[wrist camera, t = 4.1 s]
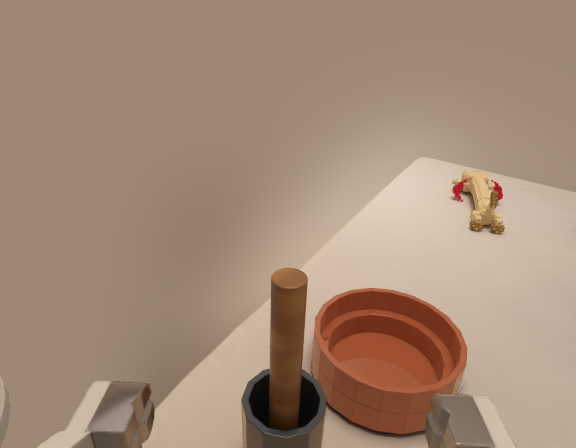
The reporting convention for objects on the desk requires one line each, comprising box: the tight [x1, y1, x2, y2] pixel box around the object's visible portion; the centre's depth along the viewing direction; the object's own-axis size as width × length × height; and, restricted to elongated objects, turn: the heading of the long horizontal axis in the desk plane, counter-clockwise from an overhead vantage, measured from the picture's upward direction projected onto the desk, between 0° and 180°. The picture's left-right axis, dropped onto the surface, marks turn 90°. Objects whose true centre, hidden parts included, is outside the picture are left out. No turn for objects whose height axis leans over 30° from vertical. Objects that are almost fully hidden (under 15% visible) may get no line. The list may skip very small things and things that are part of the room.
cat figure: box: [452, 170, 504, 234], centre depth 84 cm, size 10×9×25 cm
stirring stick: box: [269, 268, 308, 432], centre depth 29 cm, size 2×2×20 cm
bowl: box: [311, 288, 467, 434], centre depth 43 cm, size 15×15×6 cm
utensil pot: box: [241, 369, 327, 448], centre depth 31 cm, size 6×6×10 cm
